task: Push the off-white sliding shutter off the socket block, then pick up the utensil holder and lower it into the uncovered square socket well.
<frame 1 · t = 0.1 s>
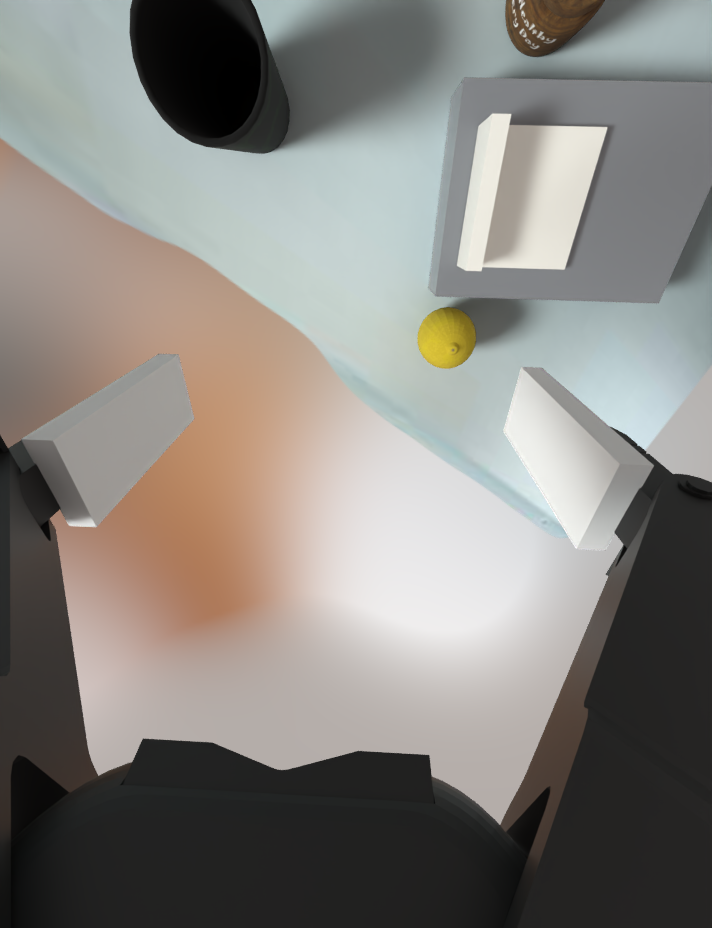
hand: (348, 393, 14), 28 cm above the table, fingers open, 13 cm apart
socket block: (548, 206, 33), on the table
cup: (257, 110, 31), on the table
lemon: (439, 327, 40), on the table
shutter: (532, 202, 27), point 7 cm above the table, slide at 0.0 cm
utensil holder: (544, 5, 27), on the table
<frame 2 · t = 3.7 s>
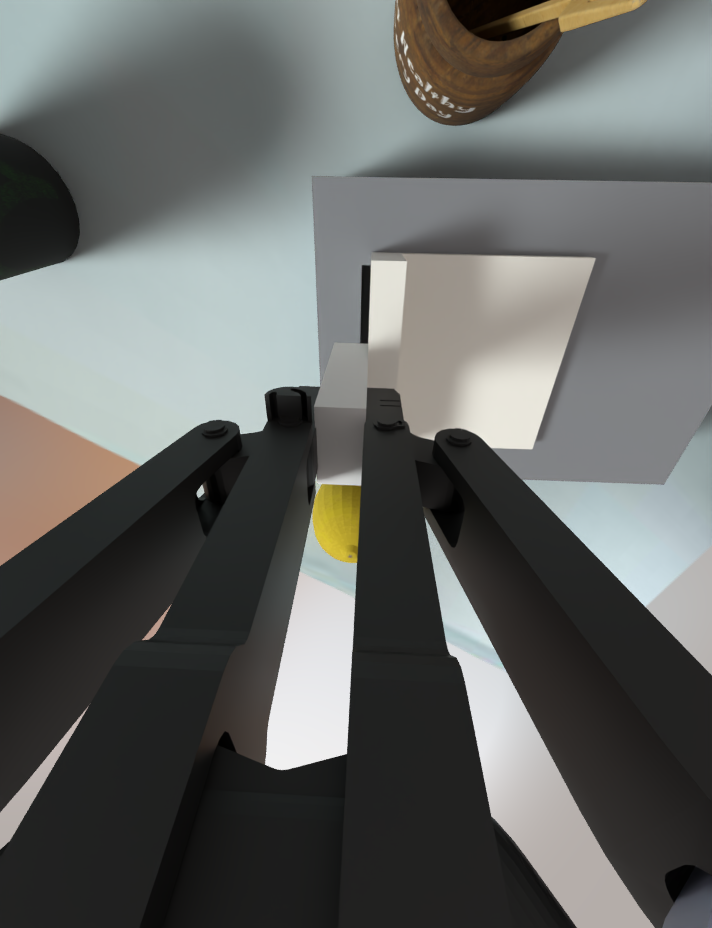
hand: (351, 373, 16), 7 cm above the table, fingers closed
socket block: (495, 335, 22), on the table
cup: (26, 205, 19), on the table
lemon: (356, 476, 28), on the table
shutter: (469, 374, 16), point 7 cm above the table, slide at 0.9 cm, touching gripper
utensil holder: (463, 41, 16), on the table
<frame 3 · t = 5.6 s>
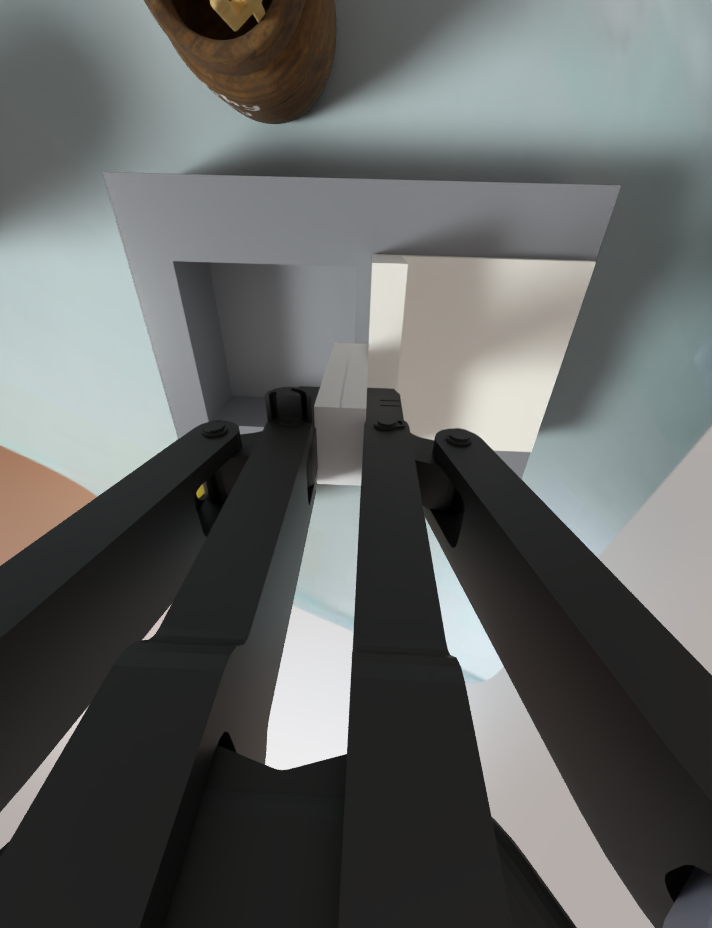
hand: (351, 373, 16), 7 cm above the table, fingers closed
socket block: (357, 332, 22), on the table
shutter: (468, 377, 16), point 7 cm above the table, slide at 9.2 cm, touching gripper
utensil holder: (272, 40, 16), on the table
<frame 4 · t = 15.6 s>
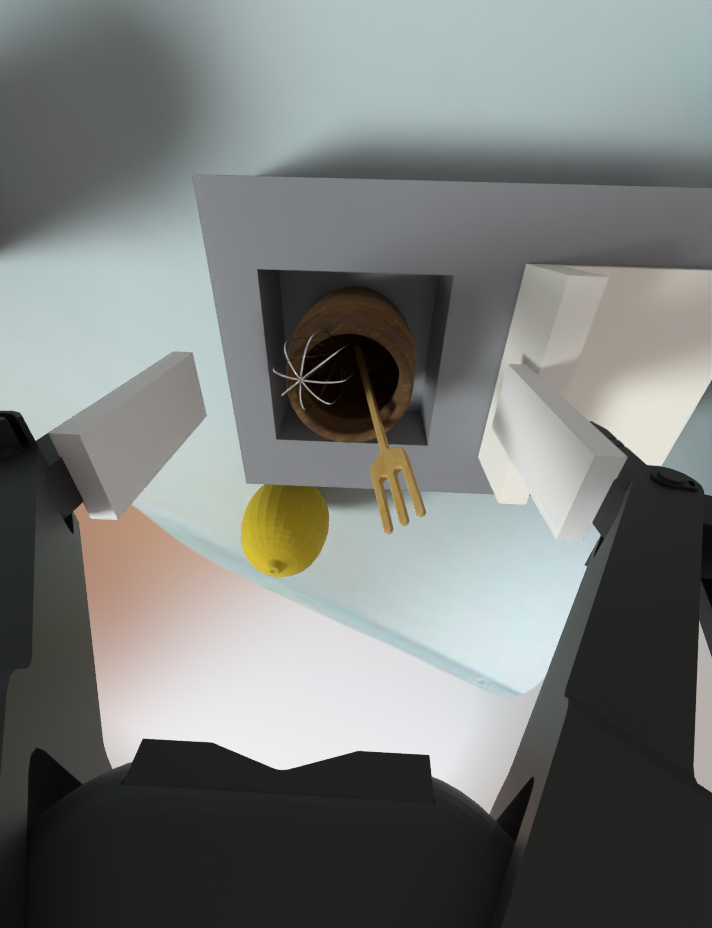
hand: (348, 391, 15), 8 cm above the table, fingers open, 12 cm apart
socket block: (426, 342, 21), on the table
lemon: (297, 485, 28), on the table
shutter: (620, 394, 15), point 7 cm above the table, slide at 11.2 cm, touching gripper
utensil holder: (356, 343, 20), point 1 cm above the table, touching socket block
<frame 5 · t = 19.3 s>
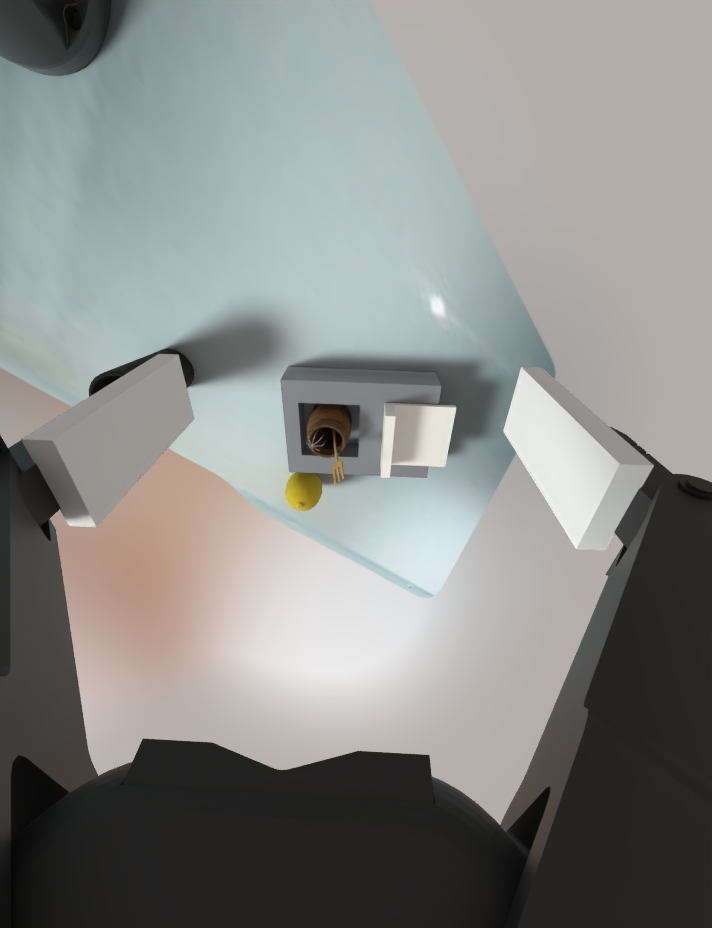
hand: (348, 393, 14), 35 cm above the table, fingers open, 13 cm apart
socket block: (360, 416, 53), on the table
cup: (174, 368, 51), on the table
lemon: (308, 473, 60), on the table
shutter: (417, 442, 47), point 7 cm above the table, slide at 11.6 cm
utensil holder: (332, 417, 53), point 1 cm above the table, touching socket block
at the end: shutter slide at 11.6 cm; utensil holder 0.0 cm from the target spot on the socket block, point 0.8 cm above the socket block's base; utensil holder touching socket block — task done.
